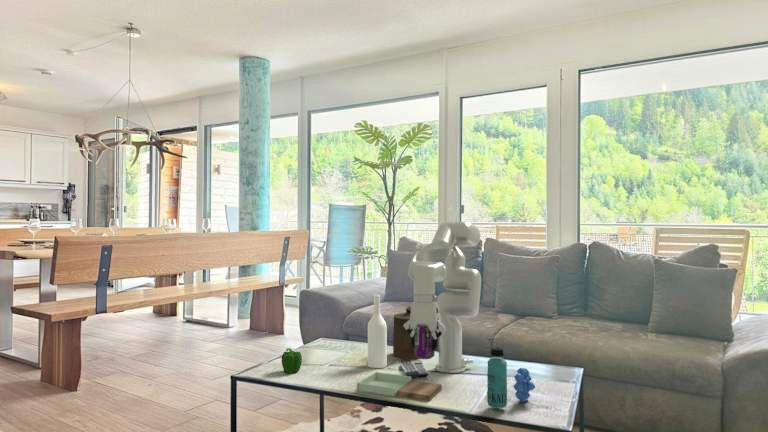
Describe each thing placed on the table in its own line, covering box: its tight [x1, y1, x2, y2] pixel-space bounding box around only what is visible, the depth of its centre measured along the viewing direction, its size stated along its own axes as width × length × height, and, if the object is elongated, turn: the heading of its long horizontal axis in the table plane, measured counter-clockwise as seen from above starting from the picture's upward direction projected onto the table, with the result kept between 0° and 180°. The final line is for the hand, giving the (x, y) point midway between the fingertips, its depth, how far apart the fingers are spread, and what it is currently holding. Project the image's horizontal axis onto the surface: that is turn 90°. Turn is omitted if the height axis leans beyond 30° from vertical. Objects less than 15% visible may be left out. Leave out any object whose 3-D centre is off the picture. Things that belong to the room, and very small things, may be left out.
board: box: [396, 379, 443, 402], centre depth 186 cm, size 12×13×2 cm
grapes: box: [513, 367, 536, 403], centre depth 176 cm, size 12×7×12 cm, turn 145°
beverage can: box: [415, 325, 436, 360], centre depth 185 cm, size 7×7×12 cm
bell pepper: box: [281, 347, 303, 374], centre depth 213 cm, size 8×8×10 cm
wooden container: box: [392, 306, 420, 360], centre depth 237 cm, size 15×15×22 cm
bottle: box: [367, 294, 388, 369], centre depth 221 cm, size 8×8×30 cm
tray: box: [356, 371, 412, 398], centre depth 192 cm, size 15×15×3 cm
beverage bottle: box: [486, 347, 508, 409], centre depth 170 cm, size 6×7×20 cm
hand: (424, 348), depth 185 cm, fingers closed on beverage can, 6 cm apart
